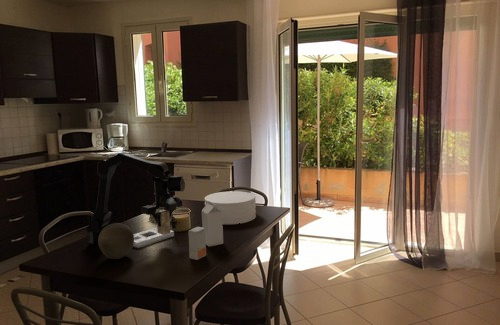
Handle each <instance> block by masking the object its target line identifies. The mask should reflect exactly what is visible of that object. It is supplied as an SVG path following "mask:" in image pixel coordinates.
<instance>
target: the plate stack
mask: <svg viewBox="0 0 500 325" xmlns="http://www.w3.org/2000/svg"><path fill="white" fill-rule="evenodd" d="M208 201H210V202H212V203H214V204H216V205H217V206H219V207H218V209H219V210H220V211H222V223H223V225H237V224H238V225H239V223H240V224H245V223H249V222H250V221H253V220H254V219H255V218H257V210H256V208H257V206H256V195H255V194H254V193H252V192H248V191H236V190H235V191H232V190H231V191H220V192H215V193H210V194H208V195H206V196H204V207H205V206H206V205H207V204H208Z"/></svg>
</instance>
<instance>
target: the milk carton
mask: <svg viewBox="0 0 500 325" xmlns="http://www.w3.org/2000/svg"><path fill="white" fill-rule="evenodd" d="M218 207H219V206H217V205H216V204H214V203H212V202H210V201H208V204H207V205H206V206H205V205H204V207H203V208H202V210H201V227H202V228H205V239H206V247H207V246H208V247H214V246H218V245H223V244H224V229H223V227H224V226H223V225H224V224H223V223H222V211H220V210H219V209H218Z"/></svg>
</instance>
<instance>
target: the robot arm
mask: <svg viewBox="0 0 500 325" xmlns="http://www.w3.org/2000/svg"><path fill="white" fill-rule="evenodd" d="M122 163H123V164H126V165H129V166H133V167H136V168H138V169H142V170H144V171H146V172H147V174H150V175H152V177H151V178H150V179H149V182H150V183H151V182H153V184H154V193H153V196H154V199H155V200H154V201H155V202H153V203H154V205H156V206H153V205H152V206H151V205H149V204H147V205H145V206H141V208H140V214H144V215H146V216H150V215H151V214H152V216H153V217H154V219H155V221H156V222H155V223H156V225H157V224H158V226H161V220H160V215H161V212H159V209H163V208H164V210H167V211H169V217H171V214H172V212H173V211H174V210H176V207H179V208H180V207H183V201H182V200H181V198H180V197H179V196H176V197H174V198H173V197H172V196H171V193H170V192H184V191H185V188H186V182H185V180H184V177H183V175H174V174H173V173H172V172H171V170H170V169H169V165H167V163H166V162H164V161H163V162H162V161H155V160H147V159H146V158H143V157H140V156H139V157H138V156H136V155H132V154H129V153H127V152H125V151H122V152H118V153H117V154H115V155H113V156H111V157H110V158H106V159H103V160H100V161H98V163H97V166H96V168H97V170H96V171H97V175H98V177H99V183H98V193H97V199H96V200H97V201H96V208H95V210H94V212H93V214H92V215H91V219H90V223H89V224H88V225H87V226H86V231H87V233H89V240H88V243H89V244H91V245H93V246H99V244H98V237H99V235H100V233H101V231H102V230H103V229H104V228H105V227H106V226H108V225H109V223H110V221H111V220H112V211H109V200H110V192H111V190H110V188H111V182H112V178H113V177H114V175H115V173H116V168H117V166H119V165H120V164H122Z"/></svg>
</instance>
